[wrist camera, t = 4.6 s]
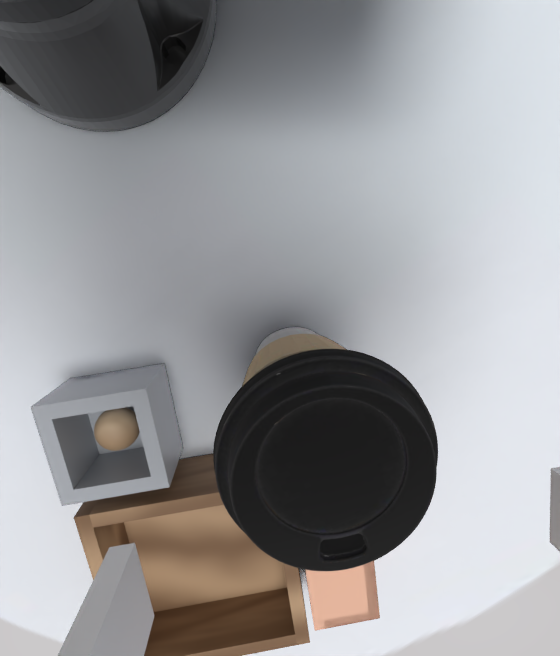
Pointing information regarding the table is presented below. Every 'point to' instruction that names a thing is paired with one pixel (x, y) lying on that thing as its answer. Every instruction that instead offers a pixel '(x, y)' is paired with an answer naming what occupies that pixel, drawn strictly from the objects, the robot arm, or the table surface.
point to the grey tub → (92, 459)
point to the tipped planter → (343, 596)
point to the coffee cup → (324, 454)
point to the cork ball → (116, 429)
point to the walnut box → (198, 568)
